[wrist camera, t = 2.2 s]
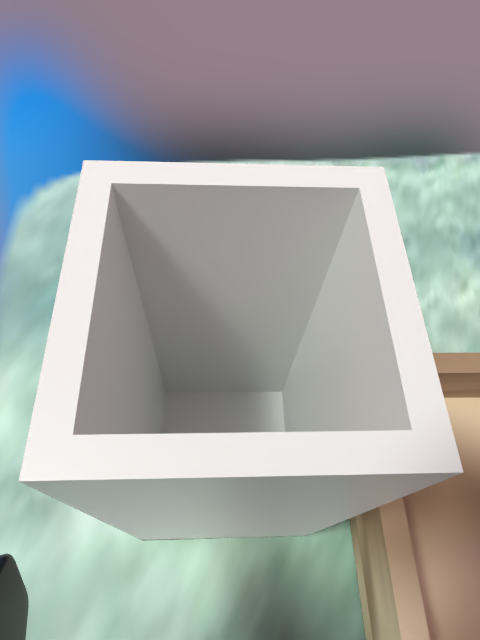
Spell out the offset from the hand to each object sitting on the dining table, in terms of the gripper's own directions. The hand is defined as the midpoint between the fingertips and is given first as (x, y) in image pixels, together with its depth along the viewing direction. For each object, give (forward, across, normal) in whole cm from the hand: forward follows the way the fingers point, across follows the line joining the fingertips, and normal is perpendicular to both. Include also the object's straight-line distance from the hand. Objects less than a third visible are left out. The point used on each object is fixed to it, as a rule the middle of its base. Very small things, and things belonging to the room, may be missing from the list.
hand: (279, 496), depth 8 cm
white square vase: (+9, 0, +5) cm, 10 cm away
